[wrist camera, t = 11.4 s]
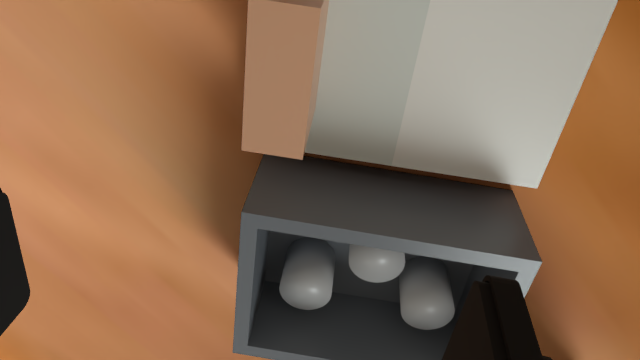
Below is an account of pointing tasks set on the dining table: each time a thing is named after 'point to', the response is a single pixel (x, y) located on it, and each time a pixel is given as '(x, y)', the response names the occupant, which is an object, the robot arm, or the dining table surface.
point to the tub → (367, 259)
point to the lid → (419, 81)
